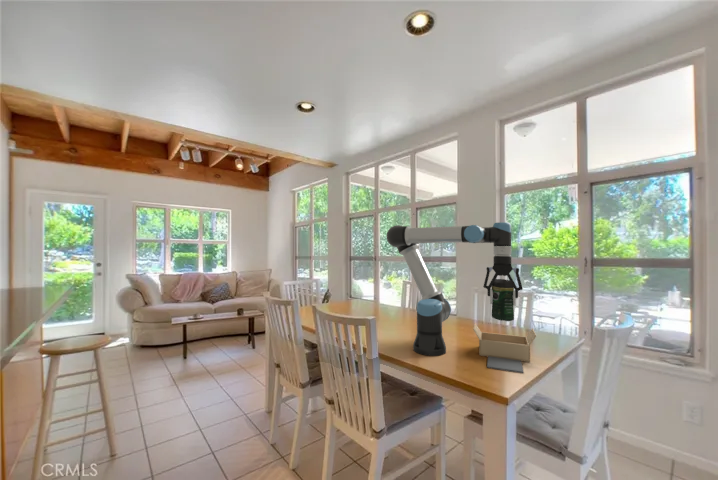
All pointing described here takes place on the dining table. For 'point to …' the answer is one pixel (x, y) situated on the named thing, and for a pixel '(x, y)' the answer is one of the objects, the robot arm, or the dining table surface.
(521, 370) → the mat
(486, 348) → the carton
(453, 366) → the dining table surface
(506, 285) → the coffee jar
